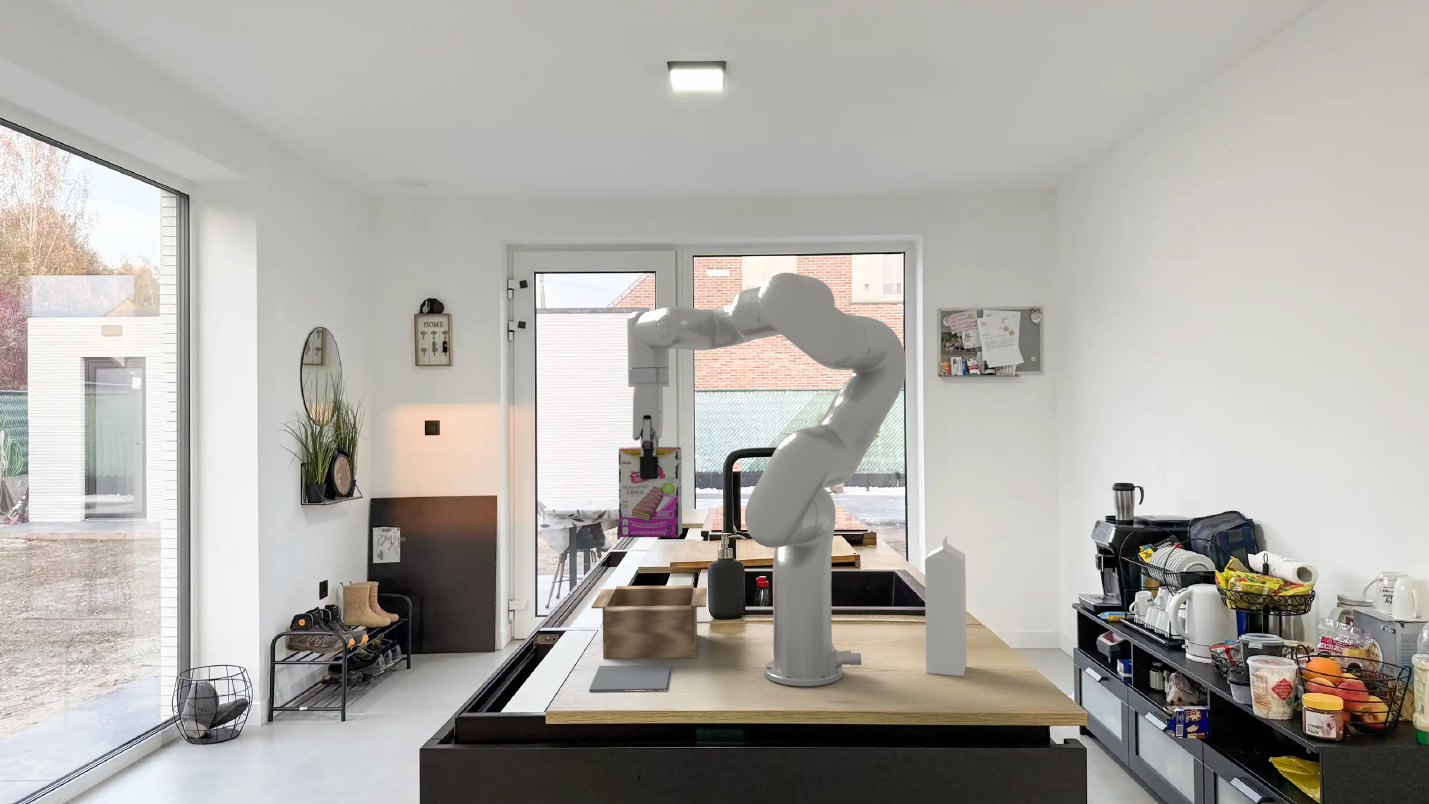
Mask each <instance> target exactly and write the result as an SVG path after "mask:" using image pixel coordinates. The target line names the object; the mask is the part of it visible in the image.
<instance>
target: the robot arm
mask: <svg viewBox="0 0 1429 804" xmlns="http://www.w3.org/2000/svg"><path fill="white" fill-rule="evenodd" d="M626 321H627V323H626V325H627V328H626V329H627V330H626V331H627V376H628V377H627V382H628V383H627V384H628V385H627V386H628V388H633V392H632V394H633V396H632V440H633V441H635V442H637V441H640V447H641V457H640V478H641V479H657V478H658V457H656V447H660V446H659V441H660V439H662V437H663V427H664V425H663V424H664V387H670V361H669V360H670V359H669V357H670V356H669V355H670V354H669V352H670V351H669V350H683V351H684V350H685V351H687V350H688V351H689V350H690V351H711V350H717V349H723V348H727V347H733V346H737V345H741V344H745V343H749V342H751V341H755V340H758V339H764V338H770V337H775V336H781V335H782V336H783V337H784V338H785V339H787V340H788V341H789V342H790V343H792V344H793V345H794V346H795V347H797V348H798V349H799V350H801V351H802V353H804V354H805V355H807V356H808V357H809V358H811V359H812V360H813V361H815V362H816V363H817V364H819V365H820V366H823V367H824V368H827V369H829V370H830V369H831V370H836V371H851V375H850V376H849V378H848V380H846V382H845V383H844V384H843V386H842V387H841V388H840V389H839V390H838V391H837V392H836V394H835V395H834V397H833V399H832V400H831V403H830V405H829V407H828V408H827V411H826V412H825V414H824V415H823V417H822V419H821V420H820V421H819V423H818V424H817V425H816V426H814V427H805V428H804V427H803V428H800V429H796V430H795V431H792V432H791V433H790V434H788V435H786V437H785V438H783V440H781V441H780V443H779V444H778V445H777V447H776V449H775V450H774V451H773V454H772V455H771V457H770V459H769V461H768V462H767V464H766V467H765V468H764V470H763V472H762V473H761V475H760V477H759V479H758V481H757V483H756V484H755V487H754V489H753V491H752V492H751V493H750V494H751V495H750V497H749V498H748V501H747V504H746V506H745V511H744V512H745V513H744V514H745V515H744V523H745V527H746V530H747V532H748V534H749V536H750V537H751V539H752V540H753V541H754V542H755V543H757V544H758V545H760V546H763V547H765V548H770V549H771V548H773V549H774V555H773V562H772V563H773V564H772V597H773V598H772V607H773V609H772V613H773V616H772V619H773V623H772V624H773V625H772V626H773V660H771V661H768V663H767V664H766V665H764V670H763V671H764V676H765V677H766V678H767V679H768V680H770V681H772V682H774V683H777V684H781V685H787V686H791V687H795V686H796V687H816V686H824V685H830V684H832V683H835V682H837V681H839V680H840V679H841V678H842V676H843V672H842V671H843V668H842V667H843V665H845V666H846V665H847V666H861V665H862V654H861V653H860V652H852V650H850V649H847V650H846V649H845V650H838V649H836V648H835V647H834V644H833V641H832V640H833V638H832V637H833V636H832V635H833V634H832V633H833V632H832V630H833V629H832V623H833V621H832V620H833V619H832V618H833V617H832V557H833V554H832V553H833V541H834V533H835V530H836V529H835V527H836V514H837V513H836V507H835V502H834V499H833V497H832V496H831V494H830V492H829V491H828V490H827V489H826V488H831V487H836V486H839V485H841V484H844V483H846V482H847V481H849V480H850V479H851V478H852V477H853V476H854V475H855V473H856V472H857V469H858V468H859V465H860V464H861V462H862V460H863V459H864V457H865V456H866V454H867V452H868V450H869V448H870V446H871V445H872V443H873V441H874V440H875V438H876V436H877V434H878V432H879V431H880V428H881V427H882V424H883V423H884V421H885V419H886V417H888V414H889V412H890V410H892V407H893V406H894V405H895V403H896V401H897V399H898V396H899V395H900V393H901V391H902V389H903V386H904V383H905V378H906V373H907V358H906V353H905V349H904V347H903V343H902V342H901V340H900V338H899V337H898V335H897V334H896V332H895V331H894V330H893V329H892V328H891V326H889V325H888V324H886V323H885V322H883V321H881V320H879V319H877V318H873V317H869V316H862V315H854V314H849V313H845V312H843V311H842V310H840V309H839V308H837V307H836V301H835V296H834V293H833V291H832V289H831V288H830V286H828V285H827V283H826V282H824V281H823V280H821V279H819V278H816V277H812V276H809V275H803V274H798V273H793V272H779V273H778V274H774V275H773V276H771V277H769V278H768V279H767V280H766V281H765V282H764V283H763V284H762V286H758V287H755V288H749V289H744V290H741V291H739V292H738V293H737V294H736V295H735V296H734V299H733V301H732V304H729V305H726V306H724V305H723V306H721V307H715V308H710V309H698V308H692V307H682V306H664V307H661V308H657V309H655V310H639V311H633V312H631V313H630V314H629V315H628V317H627V320H626Z"/></svg>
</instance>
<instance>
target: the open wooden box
mask: <svg viewBox="0 0 1429 804" xmlns="http://www.w3.org/2000/svg"><path fill="white" fill-rule="evenodd" d="M694 586H695V585H692V584H691V585H619V586H616V588H607V589H605V588H603V589H601V590H600V592H599V593H598V595H597V597H596V599H595V600H594V601H593V603H592V605H591V609H602V657H603V659H612V660H613V659H671V658H672V659H673V658H674V659H675V658H676V659H677V658H679V659H680V658H681V659H682V658H683V659H684V658H685V659H686V658H688V659H689V658H690V659H691V658H696V654H697V653H696V652H697V638H698V611H697V610H698V608H707V594H708V588H706V587H699V588H698V587H694Z"/></svg>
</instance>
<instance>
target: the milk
mask: <svg viewBox="0 0 1429 804" xmlns="http://www.w3.org/2000/svg"><path fill="white" fill-rule="evenodd" d="M966 577H967V576H966V554H965V553H964V552H962V551H961V550H958V549H957V548H955V547H954V546H952V545H951V544H949V543H948V534H945V537H944V538H943V539H942V545H941V546H939V547H937V548H935V549H933V550H932V551H930V552H928V554H927V555H926V556H925V558H924V581H925V582H924V585H925V586H924V588H925V590H924V594H925V595H924V596H925V597H924V598H925V600H924V602H925V606H924V607H925V671H926V672H925V673H926V674H931V675H932V674H933V675H943V676H953V677H954V676H955V677H964V675H965V672H966V668H967V603H966V602H967V595H966V594H967V587H966V583H967V582H966Z"/></svg>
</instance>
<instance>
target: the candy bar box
mask: <svg viewBox="0 0 1429 804" xmlns="http://www.w3.org/2000/svg"><path fill="white" fill-rule="evenodd" d="M682 453H683V452H682V447H681V446H659V447H656V457H658V478H657V479H641V478H640V457H641V446H622V447H619V448H618V512H619V513H618V522H619V523H618V524H619V525H618V530H619V531H618V532H619V533H618V534H619V538H680V536H681V535H682V534H683V503H682V502H683V497H682V496H683V495H682V494H683V492H682V491H683V486H682V483H683V481H682V479H683V478H682V476H683V473H682V468H683V467H682V466H683V464H682V463H683V462H682V460H683V457H682V455H683V454H682Z"/></svg>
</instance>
